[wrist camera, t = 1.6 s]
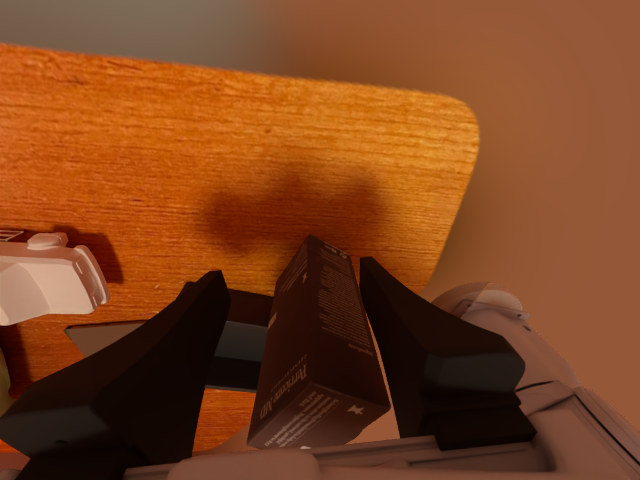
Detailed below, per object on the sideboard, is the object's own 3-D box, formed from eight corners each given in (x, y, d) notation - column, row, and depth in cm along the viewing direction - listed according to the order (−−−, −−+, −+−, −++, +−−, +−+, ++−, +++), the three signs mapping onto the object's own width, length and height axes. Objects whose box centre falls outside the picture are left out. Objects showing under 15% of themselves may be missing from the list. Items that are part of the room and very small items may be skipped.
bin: (299, 301, 23) (298, 331, 20) (278, 362, 27) (275, 395, 24) (186, 281, 21) (167, 312, 18) (183, 350, 25) (167, 384, 22)
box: (306, 230, 19) (311, 384, 9) (351, 254, 21) (402, 411, 10) (270, 281, 21) (241, 452, 11) (313, 300, 23) (323, 466, 12)
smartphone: (147, 322, 22) (197, 413, 30) (151, 318, 23) (199, 408, 31) (62, 329, 22) (134, 419, 30) (67, 324, 23) (137, 414, 30)
